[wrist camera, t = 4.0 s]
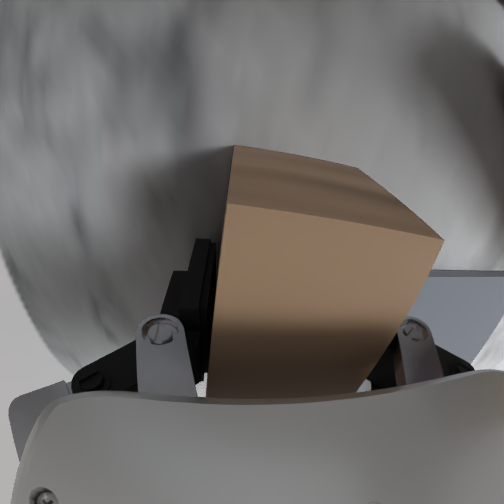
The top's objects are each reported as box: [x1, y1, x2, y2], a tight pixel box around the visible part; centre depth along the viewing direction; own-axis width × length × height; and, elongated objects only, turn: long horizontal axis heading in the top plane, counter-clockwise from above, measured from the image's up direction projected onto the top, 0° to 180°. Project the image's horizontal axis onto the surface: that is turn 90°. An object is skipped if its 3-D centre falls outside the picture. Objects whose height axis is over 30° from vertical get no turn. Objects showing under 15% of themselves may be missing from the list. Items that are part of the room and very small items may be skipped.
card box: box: [206, 145, 444, 399], centre depth 9 cm, size 9×4×6 cm, turn 171°
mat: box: [356, 270, 504, 393], centre depth 15 cm, size 10×13×1 cm
